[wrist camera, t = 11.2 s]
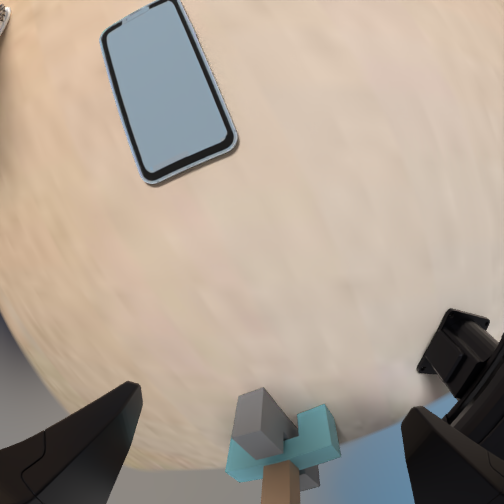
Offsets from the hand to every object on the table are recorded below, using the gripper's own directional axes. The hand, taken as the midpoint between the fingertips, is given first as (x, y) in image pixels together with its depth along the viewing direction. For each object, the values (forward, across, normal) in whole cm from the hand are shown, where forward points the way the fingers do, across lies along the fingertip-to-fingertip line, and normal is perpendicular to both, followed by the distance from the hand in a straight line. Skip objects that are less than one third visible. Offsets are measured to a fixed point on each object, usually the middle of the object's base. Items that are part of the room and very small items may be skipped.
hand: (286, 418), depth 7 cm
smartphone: (+14, +10, -13) cm, 21 cm away
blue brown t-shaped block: (+12, -4, +16) cm, 20 cm away
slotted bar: (+12, -4, +16) cm, 20 cm away
